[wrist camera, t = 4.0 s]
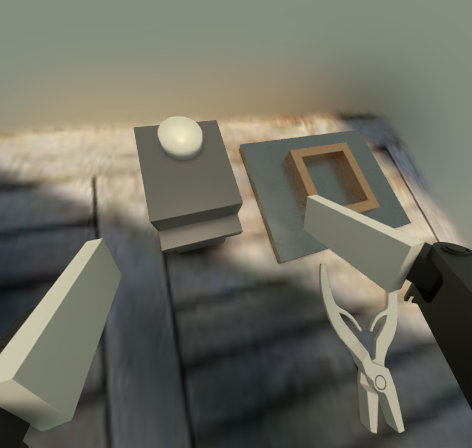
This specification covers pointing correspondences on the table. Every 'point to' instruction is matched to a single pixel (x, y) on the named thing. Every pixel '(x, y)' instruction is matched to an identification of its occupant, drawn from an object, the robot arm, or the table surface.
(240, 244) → the table surface
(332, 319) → the pliers
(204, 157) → the servo
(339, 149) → the plate
